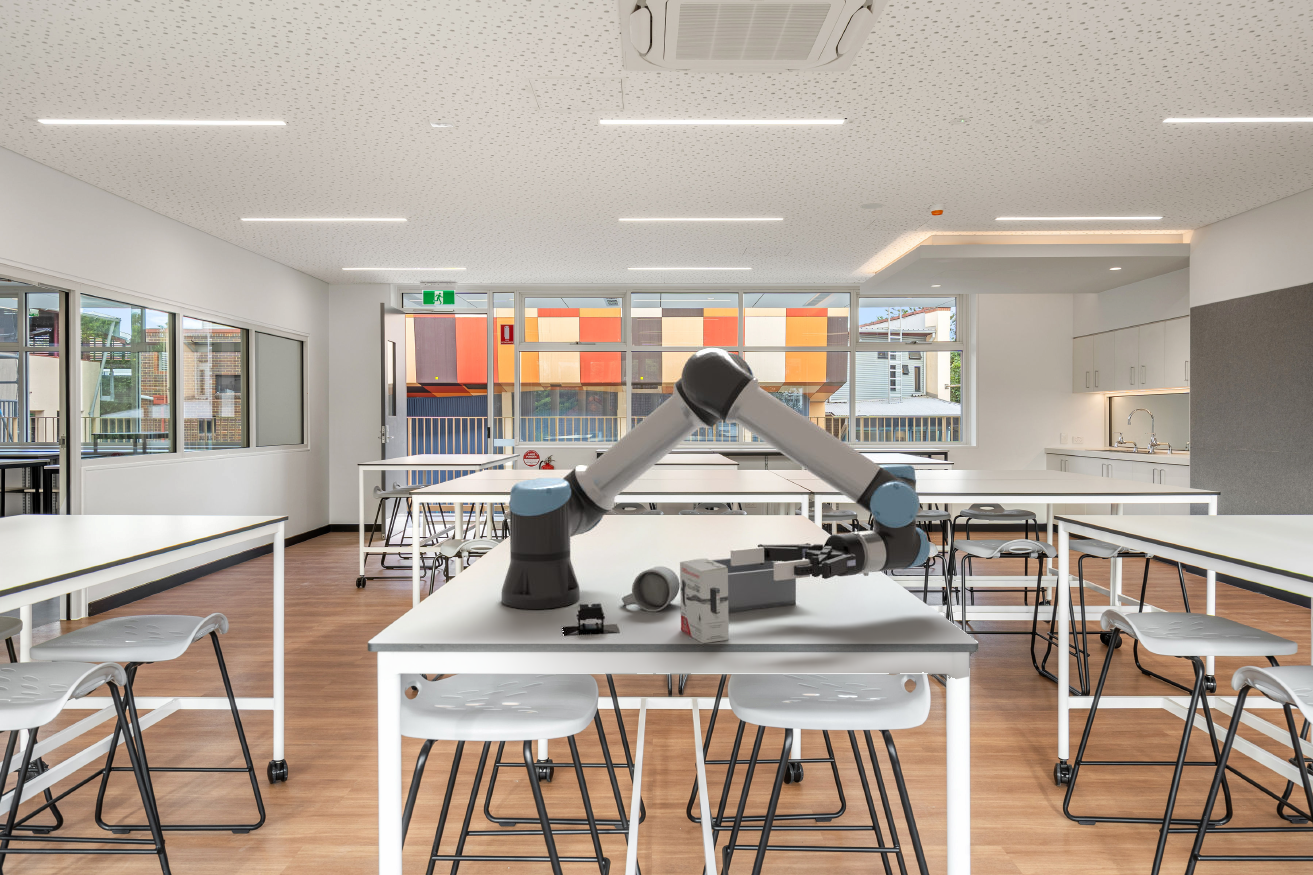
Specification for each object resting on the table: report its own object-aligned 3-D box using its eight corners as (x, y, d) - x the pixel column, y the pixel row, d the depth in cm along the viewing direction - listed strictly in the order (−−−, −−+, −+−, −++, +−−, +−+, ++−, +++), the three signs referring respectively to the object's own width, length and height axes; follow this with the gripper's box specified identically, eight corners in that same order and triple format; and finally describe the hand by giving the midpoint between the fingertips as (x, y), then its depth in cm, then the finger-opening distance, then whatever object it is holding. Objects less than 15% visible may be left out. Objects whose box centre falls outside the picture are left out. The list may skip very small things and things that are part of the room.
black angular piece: (624, 625, 126) (624, 599, 126) (630, 637, 119) (630, 610, 119) (552, 629, 124) (552, 602, 124) (553, 641, 117) (553, 613, 117)
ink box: (679, 629, 121) (679, 559, 121) (705, 626, 123) (705, 557, 123) (702, 644, 114) (701, 569, 113) (729, 640, 115) (729, 566, 115)
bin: (686, 597, 144) (685, 562, 144) (757, 589, 151) (757, 555, 150) (719, 613, 131) (719, 575, 131) (795, 603, 138) (795, 567, 138)
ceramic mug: (681, 602, 140) (681, 563, 140) (671, 613, 132) (670, 571, 132) (629, 599, 143) (629, 560, 143) (615, 609, 135) (615, 568, 135)
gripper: (903, 587, 119) (796, 602, 110) (811, 562, 142) (716, 573, 133) (902, 542, 119) (795, 553, 110) (810, 524, 142) (715, 532, 133)
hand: (751, 564), depth 122 cm, fingers open, 13 cm apart
